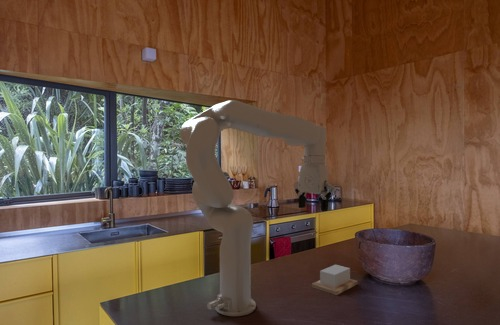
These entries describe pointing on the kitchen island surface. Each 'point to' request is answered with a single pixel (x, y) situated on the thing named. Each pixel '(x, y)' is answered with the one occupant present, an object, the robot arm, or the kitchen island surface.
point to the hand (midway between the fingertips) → (312, 209)
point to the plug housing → (334, 276)
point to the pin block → (337, 289)
